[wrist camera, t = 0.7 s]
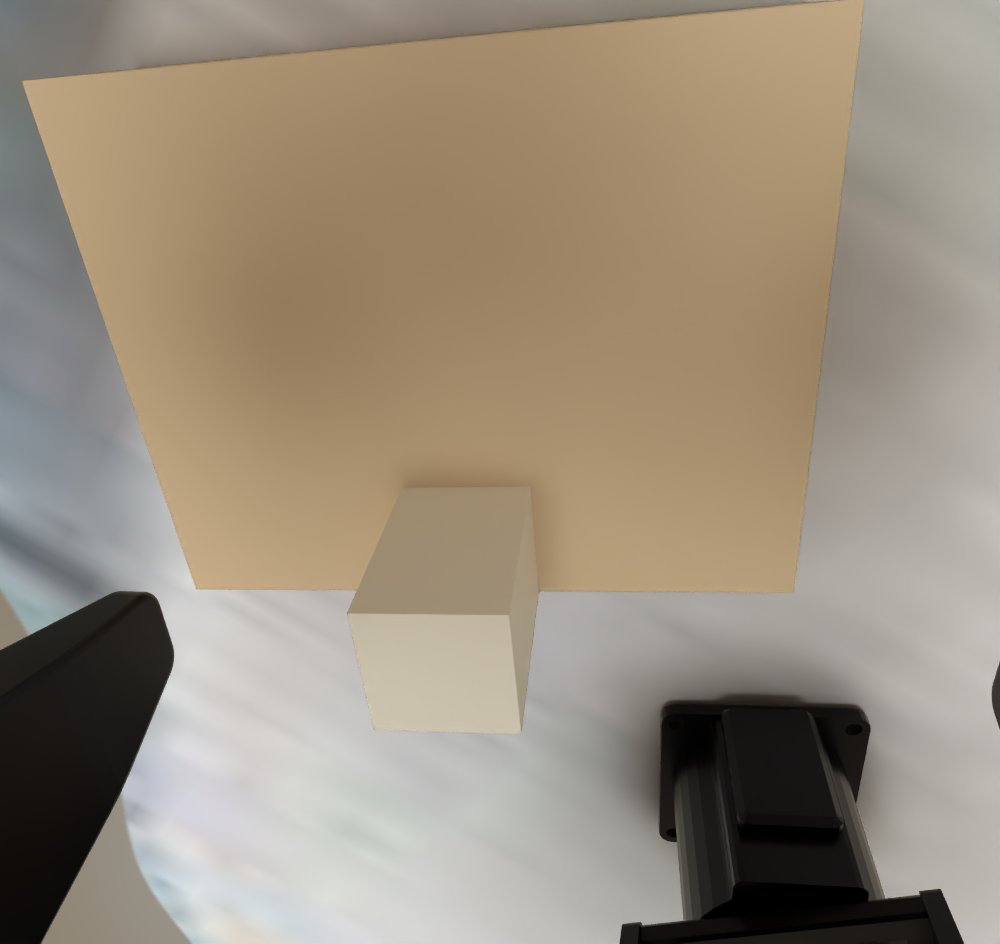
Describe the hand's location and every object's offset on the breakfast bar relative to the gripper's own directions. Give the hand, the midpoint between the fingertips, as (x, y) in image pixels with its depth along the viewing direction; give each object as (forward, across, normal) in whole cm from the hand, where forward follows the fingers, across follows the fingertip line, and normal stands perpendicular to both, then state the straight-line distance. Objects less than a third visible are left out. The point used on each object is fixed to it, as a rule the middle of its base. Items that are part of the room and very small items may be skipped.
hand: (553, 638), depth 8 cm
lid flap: (+10, +3, 0) cm, 10 cm away
